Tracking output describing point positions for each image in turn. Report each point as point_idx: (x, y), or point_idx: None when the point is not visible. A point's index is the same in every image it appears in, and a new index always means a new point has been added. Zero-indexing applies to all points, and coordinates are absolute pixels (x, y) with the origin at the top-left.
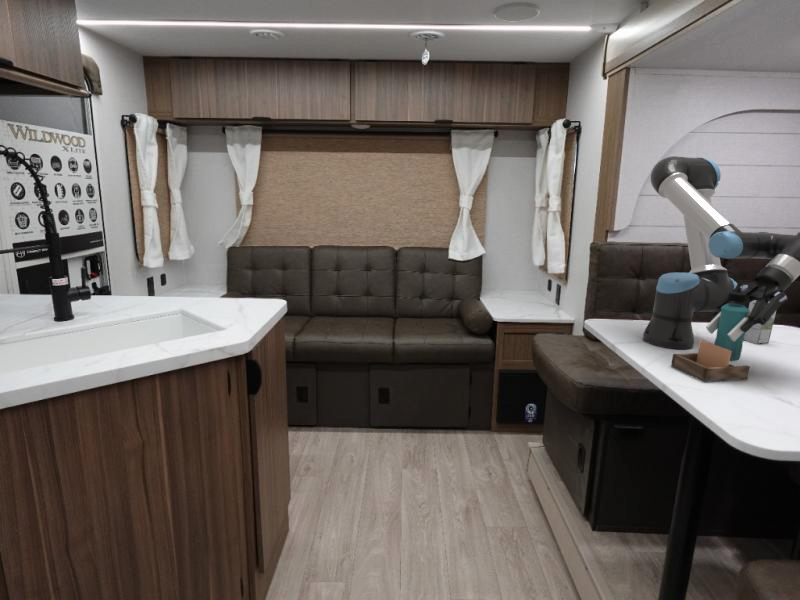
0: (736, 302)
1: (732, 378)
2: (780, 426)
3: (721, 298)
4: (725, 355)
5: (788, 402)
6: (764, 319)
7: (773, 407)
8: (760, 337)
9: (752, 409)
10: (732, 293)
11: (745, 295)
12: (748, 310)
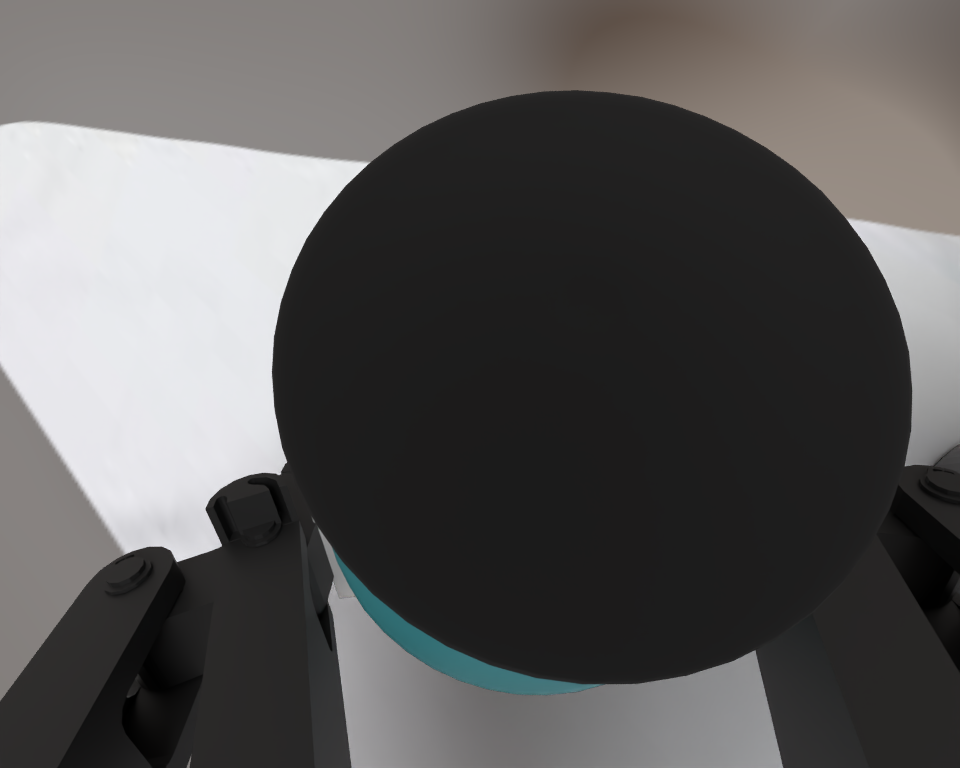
0: (836, 723)
1: None
2: (6, 299)
3: None
4: None
5: (138, 535)
6: (149, 717)
7: (121, 413)
8: None
9: (133, 312)
10: (567, 112)
11: (296, 478)
12: (380, 627)
